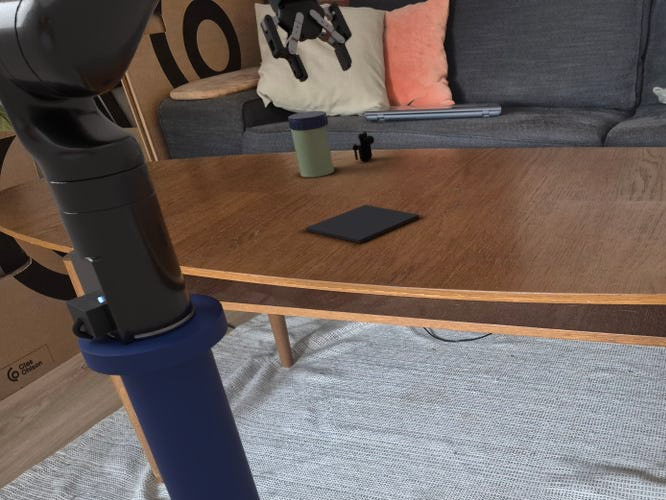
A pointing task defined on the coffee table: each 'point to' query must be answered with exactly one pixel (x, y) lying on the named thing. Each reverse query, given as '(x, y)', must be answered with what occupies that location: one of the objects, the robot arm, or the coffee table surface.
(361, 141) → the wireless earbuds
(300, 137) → the jar
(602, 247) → the coffee table surface
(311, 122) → the jar lid
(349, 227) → the coaster
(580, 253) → the coffee table surface
